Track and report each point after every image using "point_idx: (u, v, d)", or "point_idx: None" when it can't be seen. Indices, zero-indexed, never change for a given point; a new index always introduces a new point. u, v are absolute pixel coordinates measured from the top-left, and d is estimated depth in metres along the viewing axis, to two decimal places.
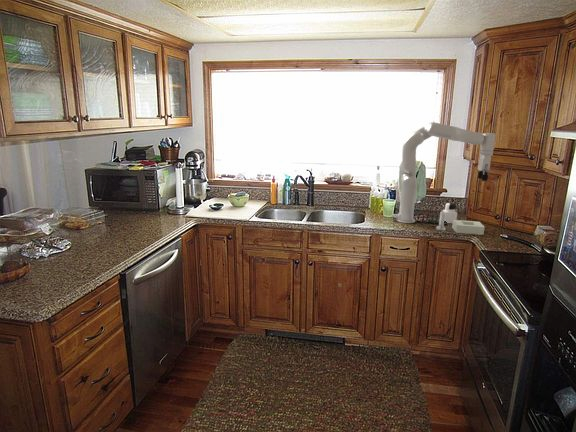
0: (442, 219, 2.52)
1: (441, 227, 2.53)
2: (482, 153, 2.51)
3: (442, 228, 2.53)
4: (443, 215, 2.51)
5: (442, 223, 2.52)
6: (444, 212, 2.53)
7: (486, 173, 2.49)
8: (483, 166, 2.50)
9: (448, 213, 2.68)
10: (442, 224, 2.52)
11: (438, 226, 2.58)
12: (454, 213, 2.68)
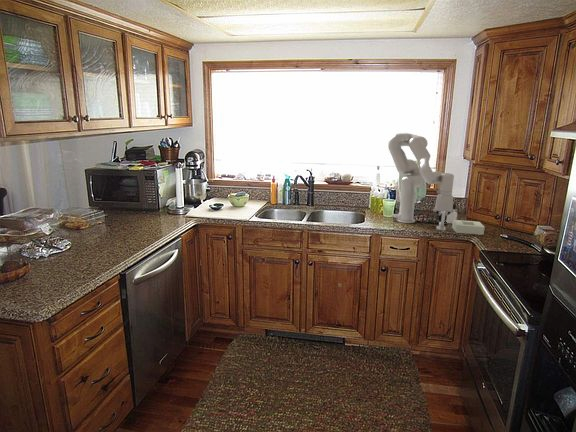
0: (442, 219, 2.52)
1: (441, 227, 2.53)
2: (450, 194, 2.47)
3: (442, 228, 2.53)
4: (443, 215, 2.51)
5: (442, 223, 2.52)
6: (444, 212, 2.53)
7: None
8: (452, 206, 2.50)
9: None
10: (442, 224, 2.52)
11: (438, 226, 2.58)
12: (454, 213, 2.68)
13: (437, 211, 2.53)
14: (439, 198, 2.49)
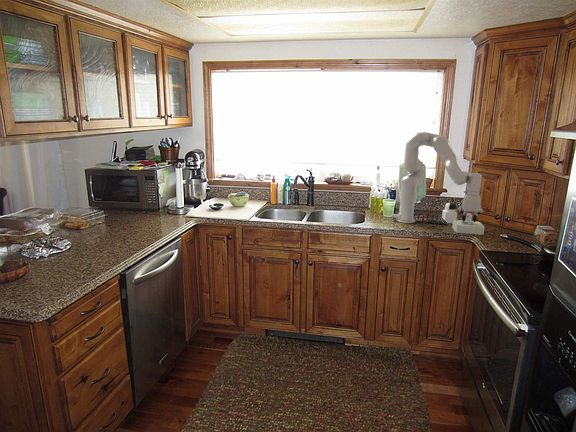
0: (469, 221, 2.48)
1: None
2: (478, 194, 2.44)
3: None
4: (470, 217, 2.48)
5: None
6: None
7: None
8: (480, 207, 2.46)
9: (448, 213, 2.68)
10: None
11: None
12: (454, 213, 2.68)
13: (461, 211, 2.50)
14: (466, 198, 2.46)
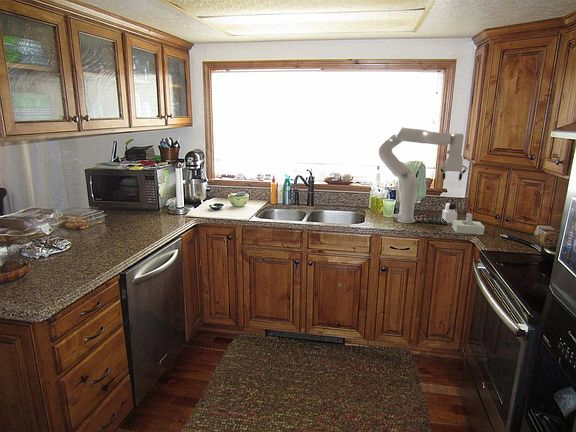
0: (469, 221, 2.48)
1: None
2: (459, 154, 2.52)
3: None
4: (470, 217, 2.48)
5: None
6: None
7: None
8: (462, 166, 2.54)
9: (448, 213, 2.68)
10: None
11: None
12: (454, 213, 2.68)
13: (441, 169, 2.58)
14: (449, 158, 2.54)
